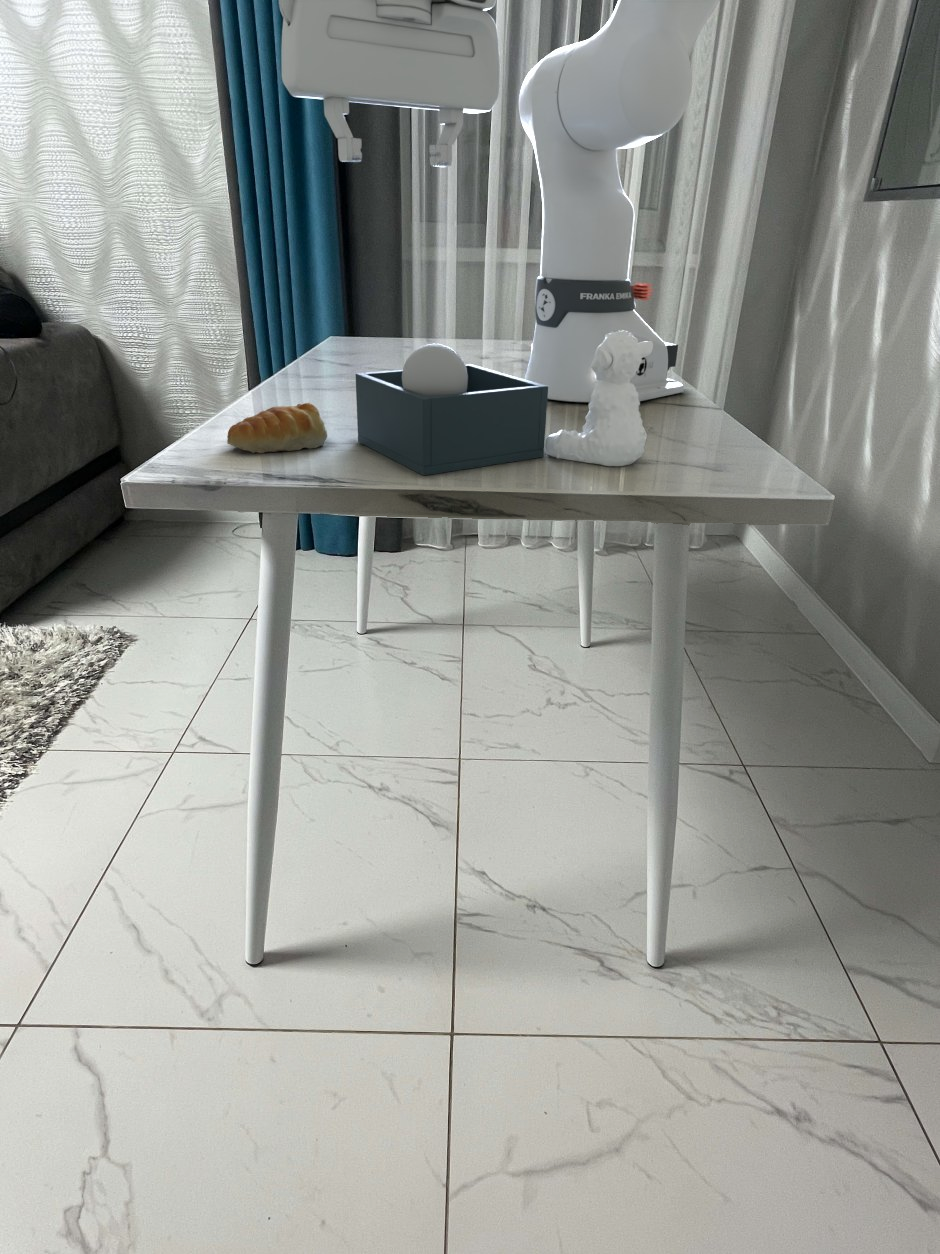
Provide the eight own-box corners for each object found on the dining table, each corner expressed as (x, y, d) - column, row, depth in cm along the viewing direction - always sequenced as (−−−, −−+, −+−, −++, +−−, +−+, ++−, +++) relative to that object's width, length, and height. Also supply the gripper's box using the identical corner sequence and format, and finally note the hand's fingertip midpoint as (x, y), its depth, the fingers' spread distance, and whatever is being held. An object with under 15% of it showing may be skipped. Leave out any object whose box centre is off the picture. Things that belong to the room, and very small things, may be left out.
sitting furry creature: (611, 442, 85) (624, 321, 80) (672, 462, 79) (690, 332, 73) (540, 454, 80) (549, 326, 75) (599, 476, 74) (612, 338, 69)
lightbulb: (503, 407, 81) (462, 328, 72) (483, 458, 79) (438, 384, 70) (450, 404, 84) (404, 328, 74) (430, 454, 82) (380, 382, 73)
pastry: (246, 460, 76) (241, 419, 74) (216, 445, 81) (211, 406, 79) (333, 445, 81) (331, 407, 79) (301, 432, 86) (298, 396, 84)
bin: (469, 427, 90) (471, 363, 86) (543, 457, 79) (548, 386, 76) (357, 441, 83) (355, 373, 80) (423, 475, 73) (423, 399, 70)
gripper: (291, -57, 61) (305, 157, 67) (512, -14, 71) (505, 168, 77) (261, -39, 65) (276, 159, 72) (472, -1, 75) (469, 169, 82)
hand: (397, 164), depth 74 cm, fingers open, 8 cm apart
